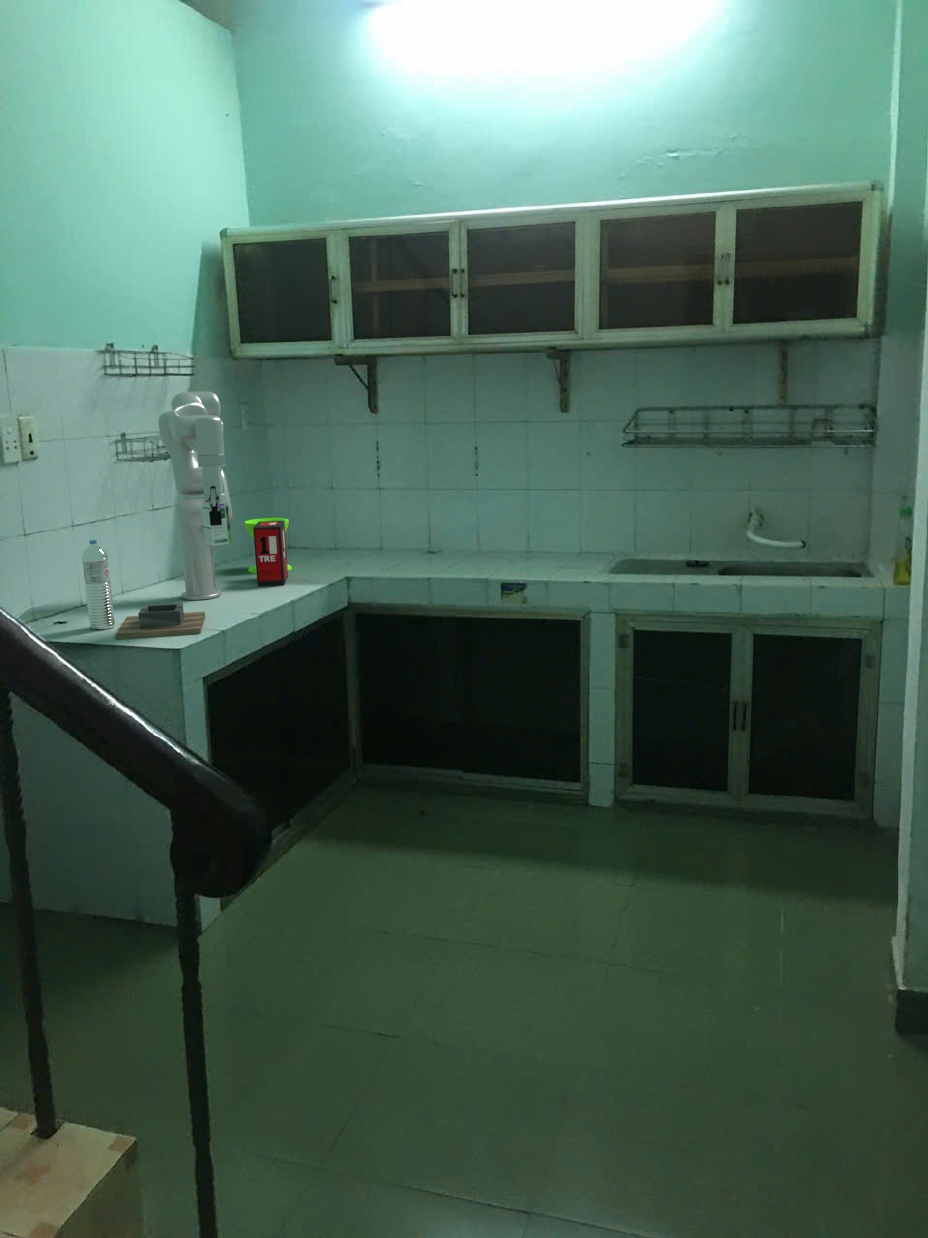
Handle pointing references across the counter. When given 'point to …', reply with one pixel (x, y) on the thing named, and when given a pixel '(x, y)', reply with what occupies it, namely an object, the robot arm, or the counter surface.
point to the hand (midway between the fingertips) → (216, 522)
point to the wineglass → (249, 527)
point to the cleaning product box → (270, 553)
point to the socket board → (161, 622)
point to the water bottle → (98, 587)
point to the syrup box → (217, 532)
